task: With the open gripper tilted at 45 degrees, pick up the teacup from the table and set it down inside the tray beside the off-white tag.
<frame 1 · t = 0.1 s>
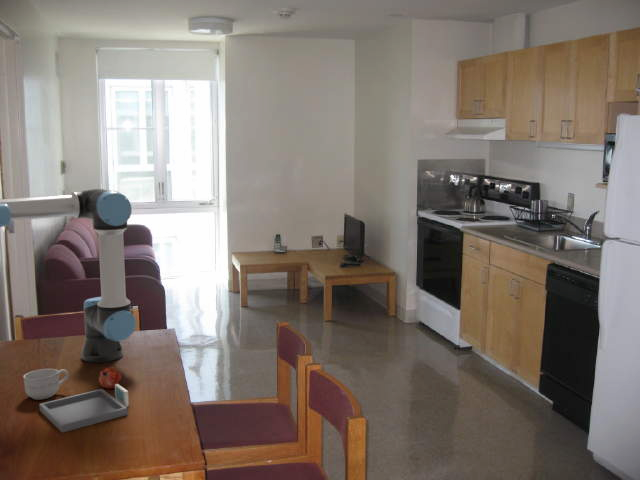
tray: (83, 412, 214), on the table
teacup: (47, 395, 227), on the table
tag: (122, 402, 222), on the table
pomegranate: (110, 387, 235), on the table
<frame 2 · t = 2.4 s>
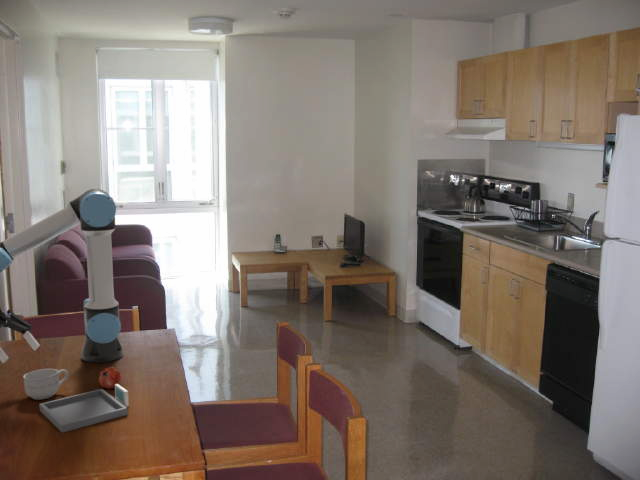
hand: (21, 354, 228), 13 cm above the table, tool tilted 45°, fingers open, 13 cm apart
nothing on the table moved.
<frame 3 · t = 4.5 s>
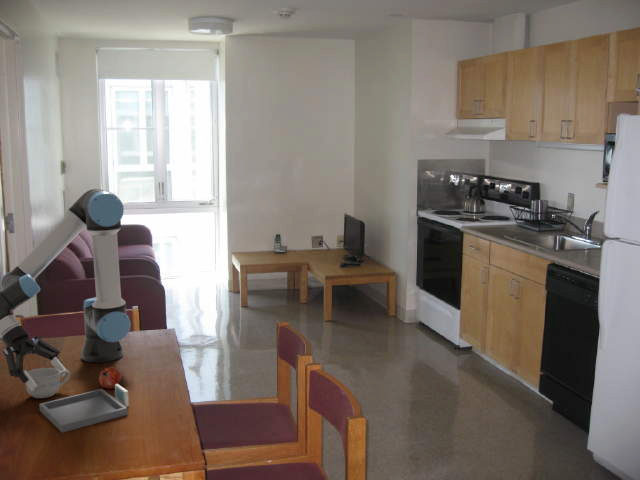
hand: (50, 381, 226), 5 cm above the table, tool tilted 45°, fingers open, 13 cm apart
teacup: (47, 395, 227), on the table, touching gripper
everything else where it was.
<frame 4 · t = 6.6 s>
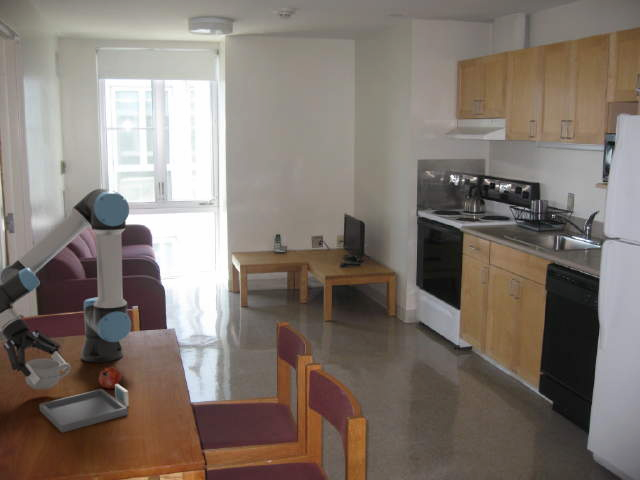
hand: (52, 375, 225), 7 cm above the table, tool tilted 45°, fingers closed on teacup, 12 cm apart
teacup: (46, 386, 227), point 3 cm above the table, touching gripper
everything else where it was.
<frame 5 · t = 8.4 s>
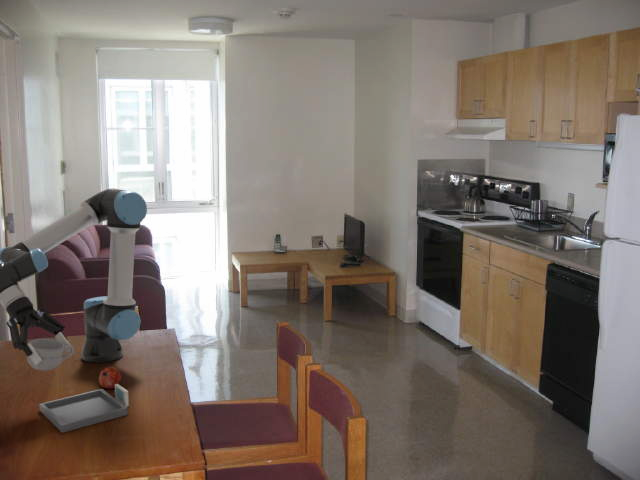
hand: (54, 356, 217), 16 cm above the table, tool tilted 45°, fingers closed on teacup, 12 cm apart
teacup: (48, 367, 219), point 12 cm above the table, touching gripper
everything else where it was.
when the fingers open (6 cm above the table, at t = 11.9 s): teacup drops 2 cm, resting on tray.
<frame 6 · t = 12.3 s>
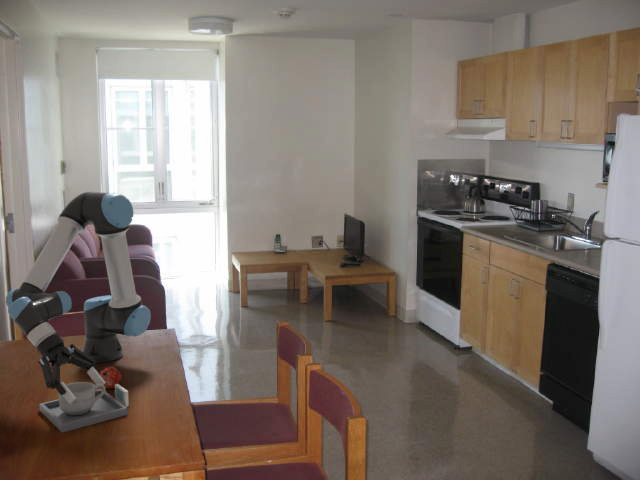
hand: (88, 393, 212), 7 cm above the table, tool tilted 45°, fingers open, 13 cm apart
teacup: (82, 411, 214), resting on tray, touching gripper
everything else where it was.
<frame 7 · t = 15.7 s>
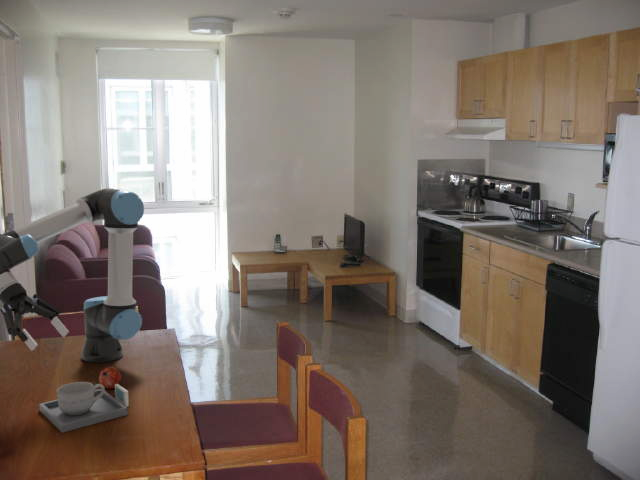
hand: (51, 341, 214), 22 cm above the table, tool tilted 45°, fingers open, 13 cm apart
teacup: (82, 411, 214), resting on tray
everything else where it was.
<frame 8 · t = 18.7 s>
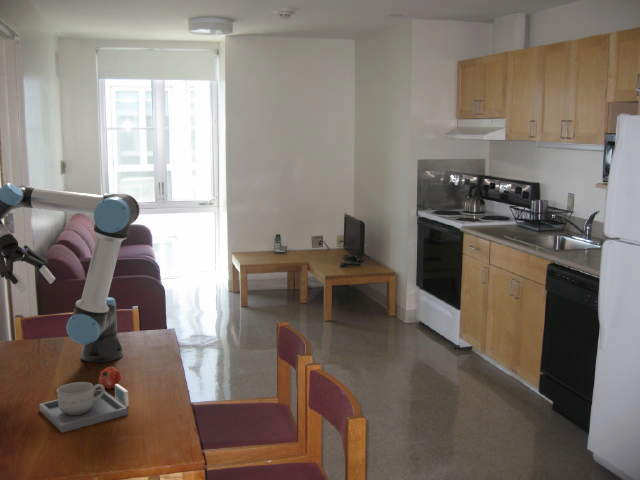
hand: (38, 285, 240), 33 cm above the table, tool tilted 45°, fingers open, 13 cm apart
nothing on the table moved.
at the end: teacup inside the target area on the tray (0.4 cm from its centre), point 0.4 cm above the tray's base; teacup tilted 0°; the gripper is holding nothing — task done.
